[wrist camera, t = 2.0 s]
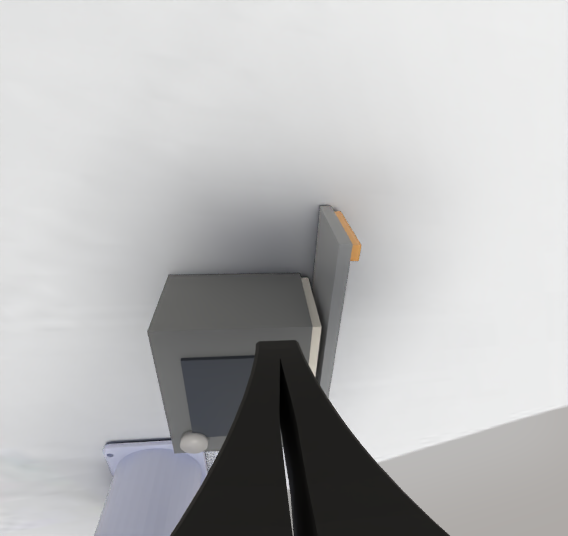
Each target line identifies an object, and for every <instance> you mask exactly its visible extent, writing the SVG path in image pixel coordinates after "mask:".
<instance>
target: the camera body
mask: <svg viewBox="0 0 568 536" xmlns="http://www.w3.org/2000/svg"><path fill="white" fill-rule="evenodd" d="M147 332H148V337H149V341H150V346H151V350H152V355H153V359H154V364H155V368H156V373H157V377H158V382H159V386H160V391H161V395H162V400H163V404H164V409H165V413H166V418H167V422H168V427H169V431H170V436H171V440H172V445H173V449H174V454H176V453H192V454H196V453H201V452H207V451H220V449H221V447H222V445H223V443H224V441H225V439H226V437H227V435H228V432H229V430H230V428H231V426H232V423H233V421H234V419H235V416H236V414H237V411H238V409H239V406H240V404H241V401H242V399H243V396H244V393H245V390H246V387H247V384H248V380H249V377H250V374H251V370H252V366H253V362H254V357H255V350H256V343H258V342H259V341H279V340H296V341H297V342H299V345H300V347H301V350H302V352H303V354H304V357H305V359H306V361H307V363H308V365H309V367H310V368H311V370H312V372H313V374H314V376H316V368H317V360H318V351H319V343H320V335H321V323H320V319H319V316H318V312H317V308H316V305H315V301H314V297H313V294H312V290H311V286H310V283H309V279H308V277H306V278H301V276H300V273H274V274H205V275H168V278H167V281H166V283H165V286H164V289H163V291H162V294H161V297H160V299H159V302H158V305H157V307H156V310H155V313H154V315H153V318H152V321H151V323H150V326H149V329H148V331H147ZM280 431H281V429H280ZM281 441H282V436H281ZM282 447H283V442H282Z"/></svg>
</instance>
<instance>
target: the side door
mask: <svg viewBox="0 0 568 536" xmlns="http://www.w3.org/2000/svg"><path fill="white" fill-rule="evenodd" d="M360 250H361V244H360V242H359V241H358V239H357V237H356V236H355V234H354V232H353V231H352V229H351V227H350V226H349V224H348V223H347V221H346V219H345V218H344V216H343V214H342V213H341V211H334V210H333V209H332V207H331V206H320V212H319V223H318V233H317V243H316V253H315V264H314V274H313V284H312V294H313V297H314V301H315V305H316V308H317V312H318V316H319V319H320V323H321V335H320V343H319V351H318V360H317V368H316V376H315V378H316V379H317V381H318V383H319V384H320V386H321V388H322V389H323V391H324V393H325V394H326V396H327V398H328V397H329V391H330V384H331V378H332V372H333V365H334V359H335V353H336V347H337V340H338V334H339V328H340V321H341V315H342V309H343V303H344V296H345V290H346V284H347V277H348V271H349V265H350V261H359V256H360Z"/></svg>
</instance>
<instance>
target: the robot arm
mask: <svg viewBox="0 0 568 536" xmlns="http://www.w3.org/2000/svg"><path fill="white" fill-rule="evenodd" d="M280 429H281V431H280ZM281 436H282V441H281ZM282 442H283V448H284V454H285V460H286V467H287V473H288V479H289V486H290V494H291V506H292V518H293V531H294V536H450V535H449V534H447V533H446V532H445V531H444V530H443V529H442V528H441V527H440V526H439V525H437V524H436V523H435V522H434V521H433V520H432V519H431V518H430V517H429V516H428V515H427V514H426V513H425V512H424V511H423V510H422V509H421V508H420V507H418V505H416V504H415V503H414V501H412V499H411V498H409V497H408V496H407V495H406V494H405V493H404V492H403V491H402V490H401V488H400V487H399V486H398V485H397V484H396V483H395V482H394V481H393V480H392V479H391V478H390V477H389V475H388V474H387V473H386V472H385V471H384V470H383V469H382V468H381V467H380V466H379V465H378V464H377V462H376V461H375V460H374V459H373V458H372V457H371V455H370V454H369V453H368V452H367V451H366V449H365V448H364V447H363V446H362V445H361V443H360V442H359V441H358V440H357V438H356V437H355V436H354V434H353V433H352V432H351V431H350V429H349V428H348V427H347V425H346V424H345V423H344V421H343V420H342V418H341V417H340V416H339V414H338V413H337V411H336V410H335V408H334V407H333V405H332V404H331V402H330V401H329V399H328V398H327V396H326V394H325V393H324V391H323V389H322V388H321V386H320V384H319V383H318V381H317V379H316V378H315V376H314V374H313V372H312V370H311V368H310V367H309V365H308V363H307V361H306V359H305V357H304V354H303V352H302V350H301V347H300V345H299V342H297V341H296V340H279V341H259V342H258V343H256V350H255V357H254V362H253V366H252V370H251V374H250V377H249V380H248V384H247V387H246V390H245V393H244V396H243V399H242V401H241V404H240V406H239V409H238V411H237V414H236V416H235V419H234V421H233V423H232V426H231V428H230V430H229V432H228V435H227V437H226V439H225V441H224V443H223V445H222V447H221V449H220V451H219V453H218V455H217V457H216V459H215V461H214V463H213V465H212V466H211V468H210V470H209V472H208V471H207V464H206V457H205V452H201V453H196V454H192V453H176V454H174V449H173V445H172V440H167V441H150V442H133V443H116V444H107V445H105V446H104V448H103V454H104V456H105V459H106V461H107V463H108V466H109V468H110V471H111V473H112V476H113V479H112V482H111V486H110V489H109V492H108V495H107V498H106V501H105V504H104V507H103V510H102V513H101V516H100V519H99V522H98V525H97V528H96V531H95V535H94V536H293V535H292V528H291V519H290V511H289V503H288V495H287V486H286V478H285V469H284V460H283V451H282Z"/></svg>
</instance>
